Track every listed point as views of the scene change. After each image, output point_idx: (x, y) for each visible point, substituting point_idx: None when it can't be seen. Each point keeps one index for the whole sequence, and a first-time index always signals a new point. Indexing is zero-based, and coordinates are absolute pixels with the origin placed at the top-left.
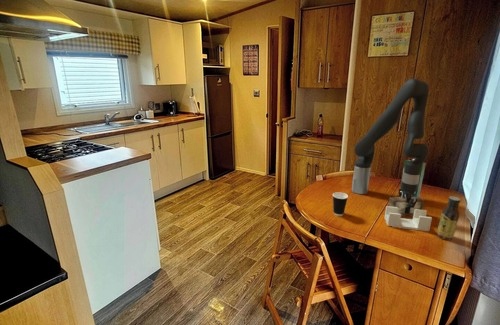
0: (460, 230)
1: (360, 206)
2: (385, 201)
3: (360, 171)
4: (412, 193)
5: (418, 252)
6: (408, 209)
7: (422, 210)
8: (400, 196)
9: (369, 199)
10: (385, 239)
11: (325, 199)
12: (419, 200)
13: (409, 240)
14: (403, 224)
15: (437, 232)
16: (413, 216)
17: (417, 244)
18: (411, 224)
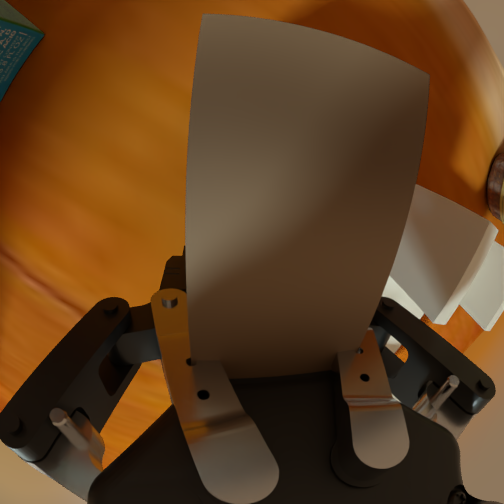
0: (477, 40)
1: (139, 421)
2: (19, 280)
3: None
4: (447, 494)
5: (480, 332)
6: None
7: (478, 263)
8: (122, 390)
9: (31, 356)
10: None
11: (109, 460)
12: (407, 196)
13: (449, 338)
14: (390, 338)
15: (498, 215)
16: (393, 276)
17: (470, 322)
18: (410, 298)
